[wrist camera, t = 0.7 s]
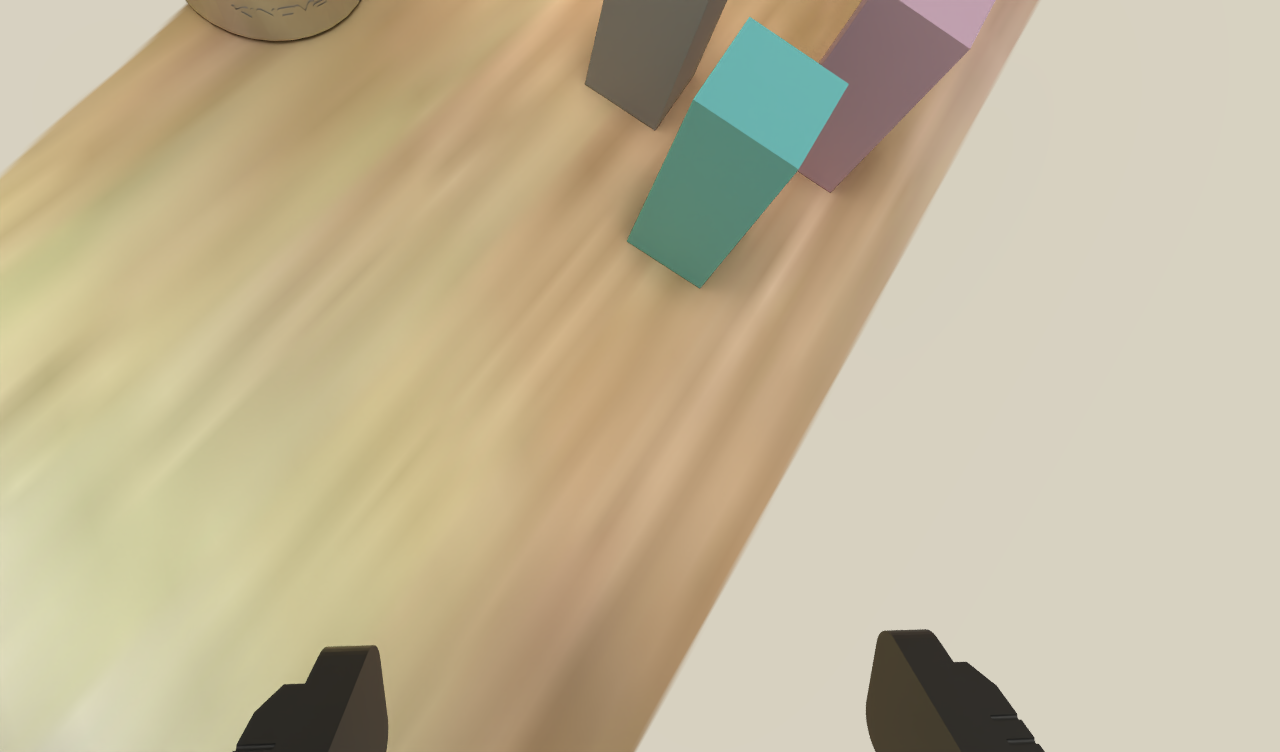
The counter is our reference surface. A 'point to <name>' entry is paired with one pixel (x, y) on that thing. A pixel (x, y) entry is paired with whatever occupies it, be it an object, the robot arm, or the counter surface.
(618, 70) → the charcoal block
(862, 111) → the plum block
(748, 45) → the teal block
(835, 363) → the counter surface
